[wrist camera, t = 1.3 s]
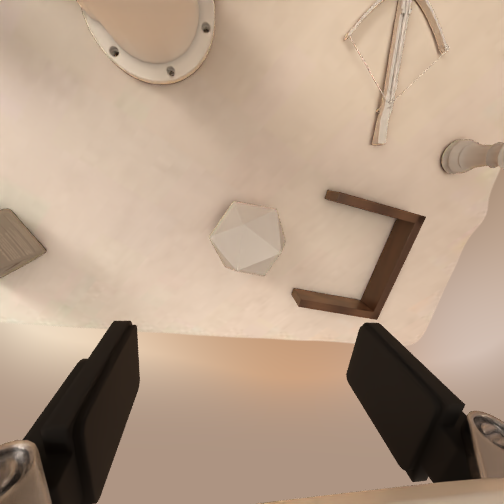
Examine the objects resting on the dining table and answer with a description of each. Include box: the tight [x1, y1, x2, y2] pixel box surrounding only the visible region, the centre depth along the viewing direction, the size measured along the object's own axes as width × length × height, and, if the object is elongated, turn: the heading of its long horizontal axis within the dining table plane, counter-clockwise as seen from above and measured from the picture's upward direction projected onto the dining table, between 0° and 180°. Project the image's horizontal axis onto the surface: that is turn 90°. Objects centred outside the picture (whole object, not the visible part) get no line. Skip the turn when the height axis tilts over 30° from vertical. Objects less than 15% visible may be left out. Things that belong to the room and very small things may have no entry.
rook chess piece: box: [441, 140, 504, 174], centre depth 30 cm, size 4×4×8 cm
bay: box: [292, 190, 426, 320], centre depth 35 cm, size 13×16×4 cm
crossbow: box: [344, 0, 449, 145], centre depth 28 cm, size 16×13×2 cm
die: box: [209, 201, 286, 276], centre depth 29 cm, size 8×9×10 cm
